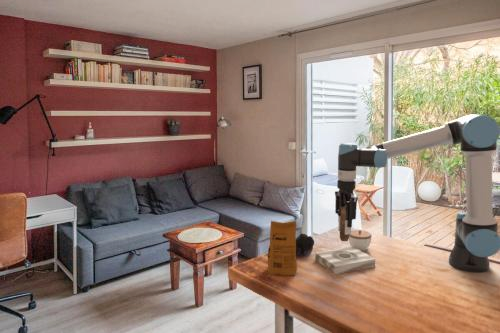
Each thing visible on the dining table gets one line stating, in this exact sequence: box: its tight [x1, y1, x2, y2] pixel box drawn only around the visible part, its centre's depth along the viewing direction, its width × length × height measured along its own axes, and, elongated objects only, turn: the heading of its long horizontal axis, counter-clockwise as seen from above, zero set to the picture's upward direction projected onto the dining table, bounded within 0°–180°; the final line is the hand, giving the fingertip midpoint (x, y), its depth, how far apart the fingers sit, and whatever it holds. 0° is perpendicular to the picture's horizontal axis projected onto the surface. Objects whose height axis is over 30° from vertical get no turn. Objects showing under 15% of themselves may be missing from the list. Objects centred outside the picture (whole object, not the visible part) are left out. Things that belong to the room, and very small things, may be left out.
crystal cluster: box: [296, 233, 315, 258], centre depth 177 cm, size 13×14×10 cm
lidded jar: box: [348, 229, 372, 252], centre depth 181 cm, size 11×11×9 cm
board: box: [314, 246, 376, 275], centre depth 164 cm, size 16×20×4 cm
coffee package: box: [267, 220, 298, 277], centre depth 156 cm, size 10×12×22 cm
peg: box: [339, 205, 349, 242], centre depth 162 cm, size 4×4×15 cm
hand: (344, 232), depth 163 cm, fingers closed on peg, 4 cm apart
